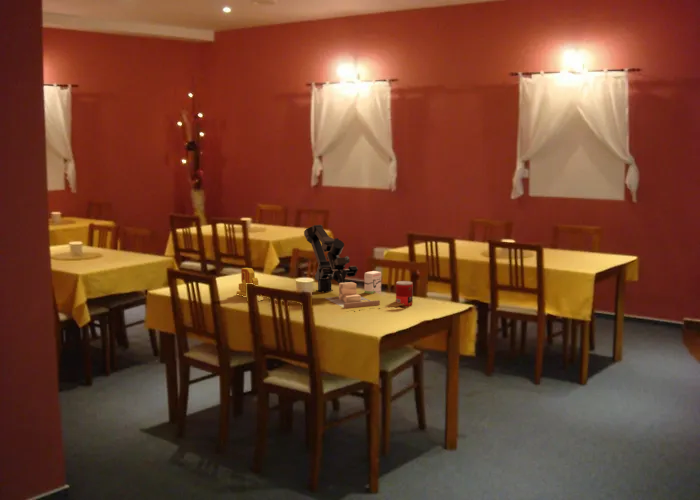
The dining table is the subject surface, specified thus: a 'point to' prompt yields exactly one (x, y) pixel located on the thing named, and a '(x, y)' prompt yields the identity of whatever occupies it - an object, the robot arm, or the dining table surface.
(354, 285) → the birch block
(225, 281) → the dining table surface
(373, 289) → the ink box
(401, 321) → the dining table surface
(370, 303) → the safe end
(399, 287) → the canned food
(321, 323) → the dining table surface
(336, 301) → the board
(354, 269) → the robot arm
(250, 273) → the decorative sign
